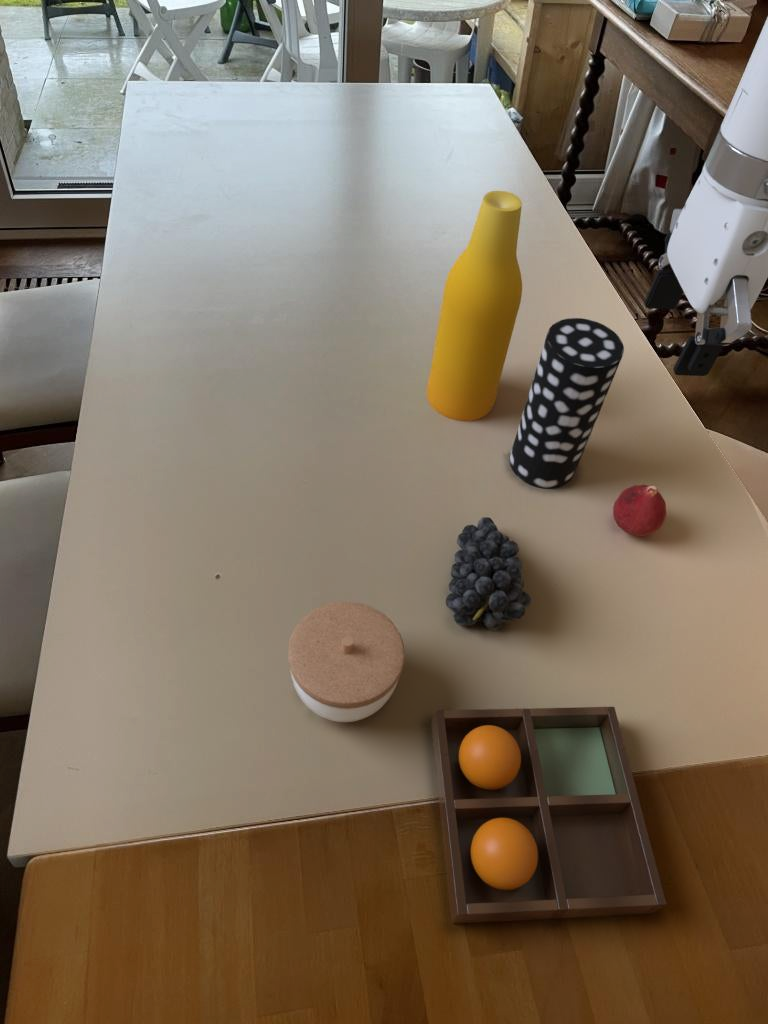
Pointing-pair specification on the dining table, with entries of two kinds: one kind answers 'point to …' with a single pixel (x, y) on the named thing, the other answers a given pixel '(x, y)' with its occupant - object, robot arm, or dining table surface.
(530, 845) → the clementine
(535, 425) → the white-spotted black cylinder
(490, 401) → the beer bottle
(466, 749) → the clementine
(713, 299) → the robot arm
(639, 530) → the pomegranate
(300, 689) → the trinket box
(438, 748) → the wooden compartment tray
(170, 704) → the dining table surface
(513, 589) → the fruit
